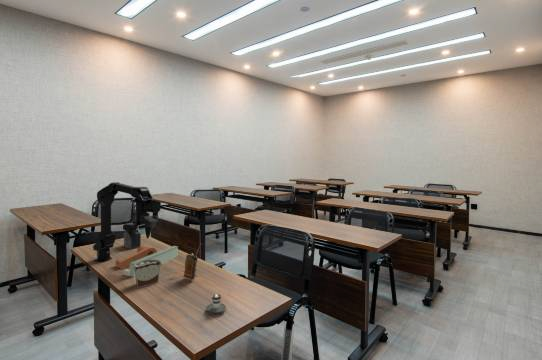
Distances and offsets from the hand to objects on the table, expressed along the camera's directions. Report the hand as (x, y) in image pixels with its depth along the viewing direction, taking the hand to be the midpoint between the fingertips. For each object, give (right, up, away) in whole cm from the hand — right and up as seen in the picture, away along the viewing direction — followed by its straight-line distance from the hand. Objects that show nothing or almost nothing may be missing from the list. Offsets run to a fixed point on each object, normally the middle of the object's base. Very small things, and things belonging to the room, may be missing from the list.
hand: (141, 240), depth 152 cm
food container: (+10, -16, -18) cm, 27 cm away
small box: (-20, -12, +33) cm, 40 cm away
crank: (-6, -14, +8) cm, 17 cm away
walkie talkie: (+28, -16, -13) cm, 35 cm away
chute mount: (+5, -14, +4) cm, 16 cm away
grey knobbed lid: (+47, -19, -39) cm, 64 cm away
